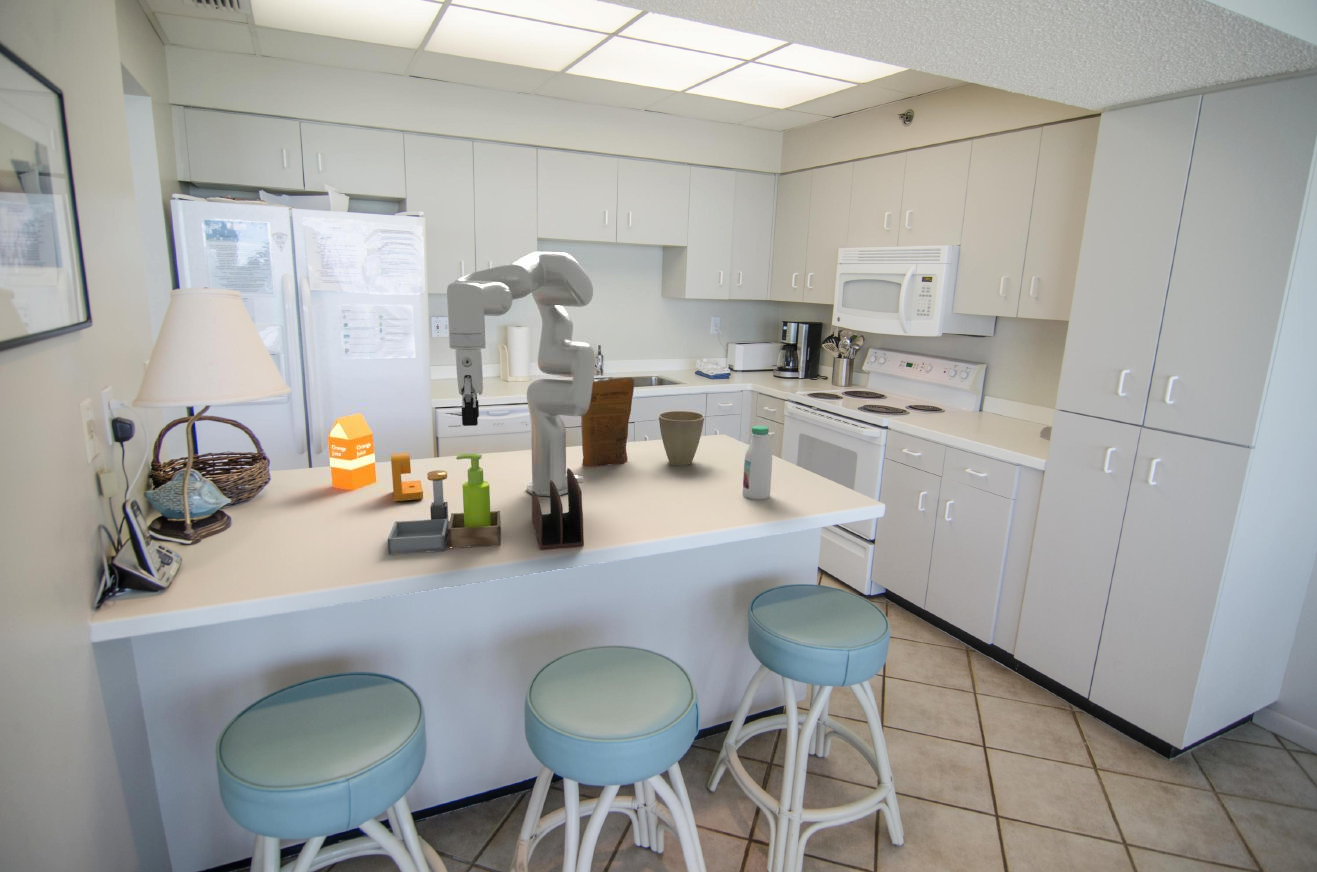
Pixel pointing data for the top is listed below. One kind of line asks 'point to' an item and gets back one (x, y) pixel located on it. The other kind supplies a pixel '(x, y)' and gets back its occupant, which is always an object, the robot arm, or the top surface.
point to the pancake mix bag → (607, 422)
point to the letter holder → (560, 518)
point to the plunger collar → (439, 512)
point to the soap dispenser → (475, 495)
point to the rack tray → (418, 536)
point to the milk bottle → (758, 465)
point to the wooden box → (474, 532)
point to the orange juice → (351, 453)
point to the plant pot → (681, 435)
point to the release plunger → (437, 486)
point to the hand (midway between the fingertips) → (470, 420)
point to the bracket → (404, 489)
